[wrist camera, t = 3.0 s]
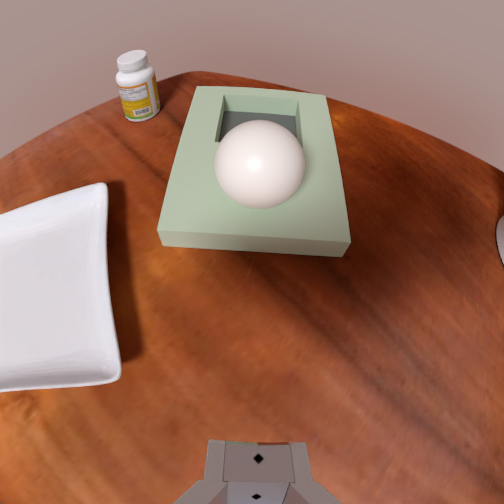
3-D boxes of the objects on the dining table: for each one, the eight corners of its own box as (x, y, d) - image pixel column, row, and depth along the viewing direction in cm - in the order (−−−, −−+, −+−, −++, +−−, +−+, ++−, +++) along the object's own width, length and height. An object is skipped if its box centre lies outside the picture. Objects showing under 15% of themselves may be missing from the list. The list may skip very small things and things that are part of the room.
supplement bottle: (142, 98, 43) (132, 45, 35) (168, 106, 42) (160, 50, 34) (118, 117, 41) (103, 63, 32) (143, 126, 40) (130, 68, 31)
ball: (295, 166, 33) (308, 107, 26) (298, 229, 29) (317, 170, 22) (220, 161, 33) (218, 100, 26) (211, 223, 29) (205, 162, 22)
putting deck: (321, 111, 43) (325, 95, 40) (341, 257, 32) (351, 242, 29) (198, 102, 43) (197, 86, 40) (163, 245, 31) (156, 230, 29)
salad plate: (-19, 238, 31) (-33, 224, 28) (115, 196, 35) (106, 176, 32) (-25, 399, 22) (-45, 395, 19) (137, 384, 25) (124, 380, 22)
